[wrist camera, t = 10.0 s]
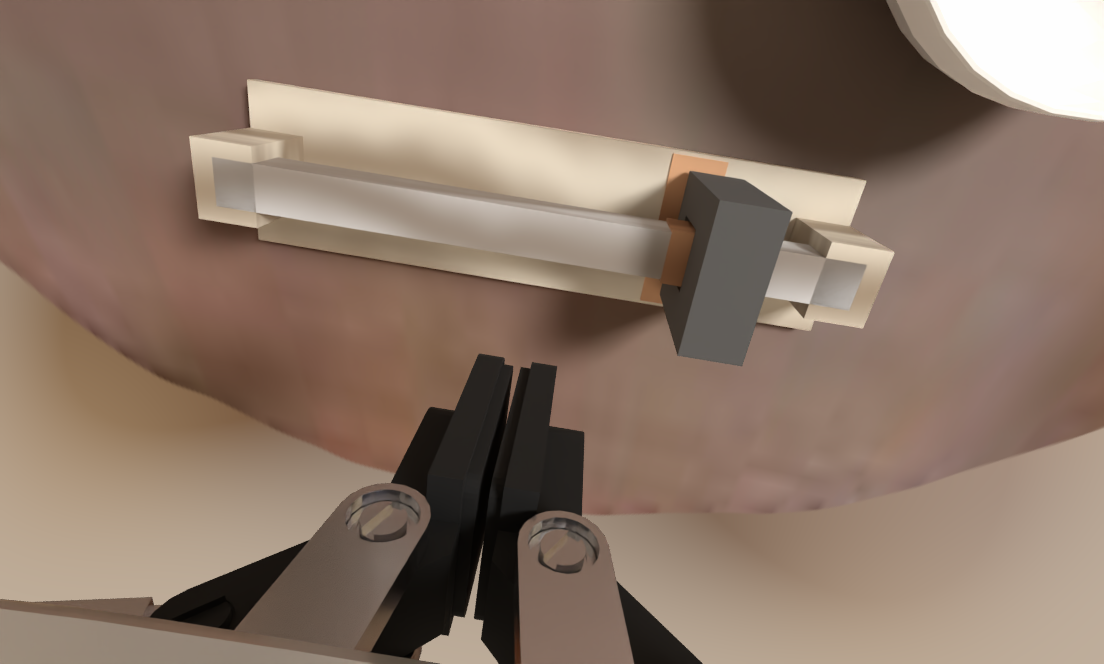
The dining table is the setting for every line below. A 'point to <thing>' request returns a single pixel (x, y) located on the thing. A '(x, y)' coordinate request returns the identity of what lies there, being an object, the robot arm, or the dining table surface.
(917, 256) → the dining table surface
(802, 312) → the pipe rig
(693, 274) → the collar
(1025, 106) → the bowl
